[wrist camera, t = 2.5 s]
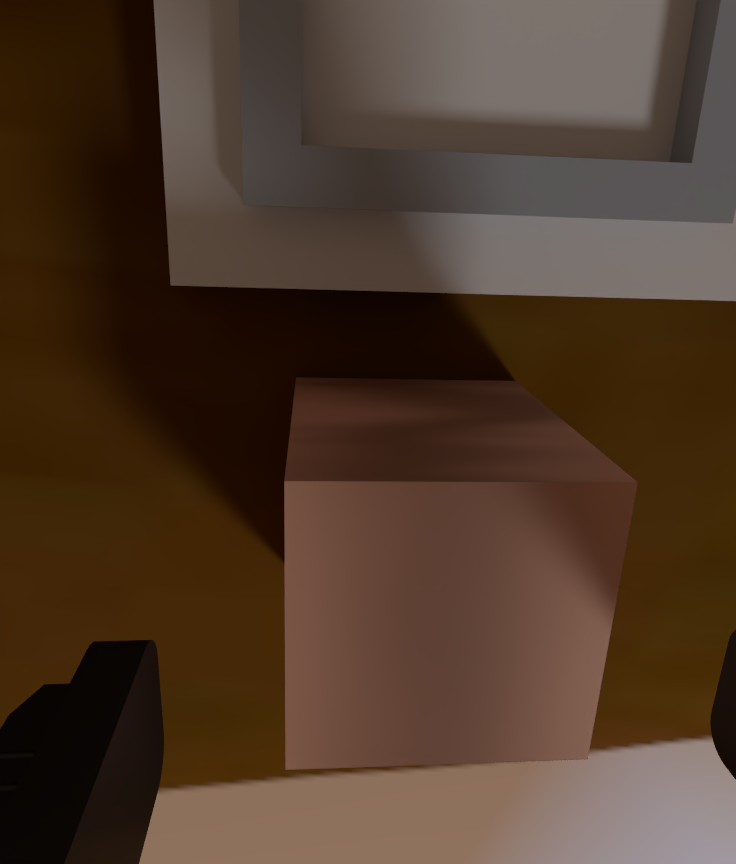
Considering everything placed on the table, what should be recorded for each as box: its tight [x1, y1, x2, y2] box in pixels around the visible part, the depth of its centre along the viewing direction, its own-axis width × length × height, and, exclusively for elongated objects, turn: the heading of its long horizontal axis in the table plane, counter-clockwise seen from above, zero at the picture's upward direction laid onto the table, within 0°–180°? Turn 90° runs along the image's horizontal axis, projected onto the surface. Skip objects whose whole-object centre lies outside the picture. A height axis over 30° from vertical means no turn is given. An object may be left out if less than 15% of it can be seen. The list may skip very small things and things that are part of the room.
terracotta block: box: [284, 377, 638, 770], centre depth 13 cm, size 5×5×6 cm
